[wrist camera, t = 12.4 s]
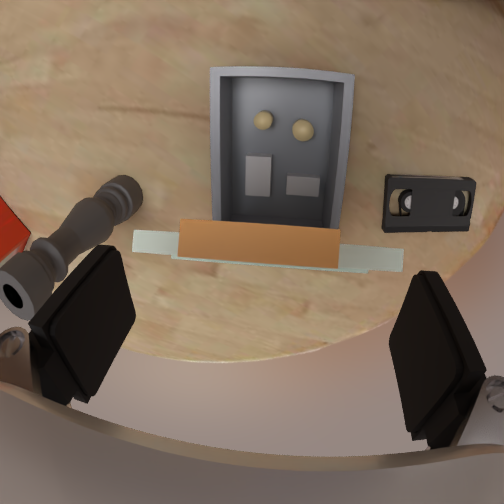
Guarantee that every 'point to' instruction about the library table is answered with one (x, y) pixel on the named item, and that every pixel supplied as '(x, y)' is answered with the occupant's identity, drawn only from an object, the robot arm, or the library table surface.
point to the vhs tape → (428, 203)
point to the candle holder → (66, 246)
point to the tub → (279, 144)
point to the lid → (267, 246)
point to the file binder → (10, 234)
